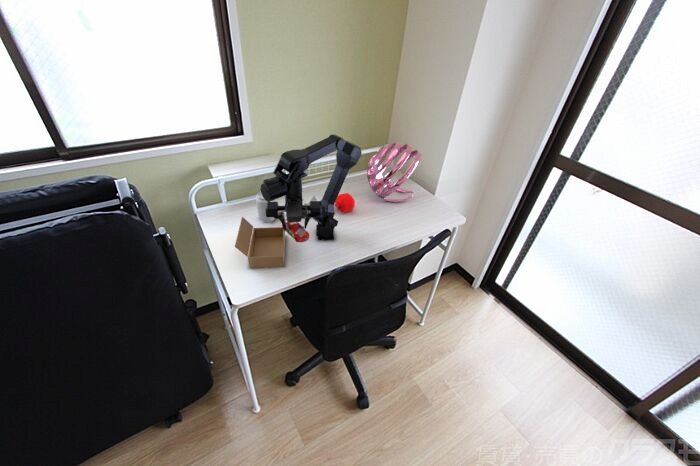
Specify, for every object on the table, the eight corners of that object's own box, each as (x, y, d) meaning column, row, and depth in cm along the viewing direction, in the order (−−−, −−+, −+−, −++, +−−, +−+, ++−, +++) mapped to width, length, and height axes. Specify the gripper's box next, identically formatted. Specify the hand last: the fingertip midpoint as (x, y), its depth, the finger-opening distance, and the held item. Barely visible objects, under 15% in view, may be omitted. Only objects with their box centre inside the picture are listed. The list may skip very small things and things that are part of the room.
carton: (283, 266, 109) (282, 256, 106) (249, 268, 107) (247, 257, 104) (285, 236, 122) (284, 226, 119) (255, 237, 120) (253, 227, 117)
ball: (333, 206, 141) (333, 192, 136) (349, 203, 144) (350, 189, 139) (339, 216, 136) (340, 201, 131) (356, 213, 138) (357, 198, 134)
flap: (235, 246, 101) (234, 246, 101) (247, 256, 104) (247, 256, 104) (242, 216, 113) (241, 217, 113) (253, 226, 117) (252, 226, 117)
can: (272, 224, 128) (269, 200, 120) (255, 221, 129) (251, 197, 121) (279, 214, 133) (277, 191, 126) (263, 211, 134) (260, 188, 127)
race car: (312, 240, 109) (312, 231, 106) (299, 245, 106) (298, 237, 103) (292, 221, 116) (292, 213, 114) (280, 226, 113) (279, 218, 111)
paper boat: (301, 220, 129) (288, 206, 132) (305, 225, 136) (293, 211, 138) (321, 201, 131) (308, 187, 134) (325, 206, 137) (312, 194, 140)
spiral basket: (445, 158, 144) (403, 119, 138) (429, 197, 128) (381, 154, 123) (407, 185, 167) (370, 152, 161) (389, 221, 151) (347, 186, 145)
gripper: (262, 204, 92) (267, 243, 102) (323, 203, 95) (322, 241, 105) (264, 186, 101) (269, 224, 110) (321, 185, 104) (320, 222, 113)
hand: (295, 228), depth 109 cm, fingers closed on race car, 7 cm apart
